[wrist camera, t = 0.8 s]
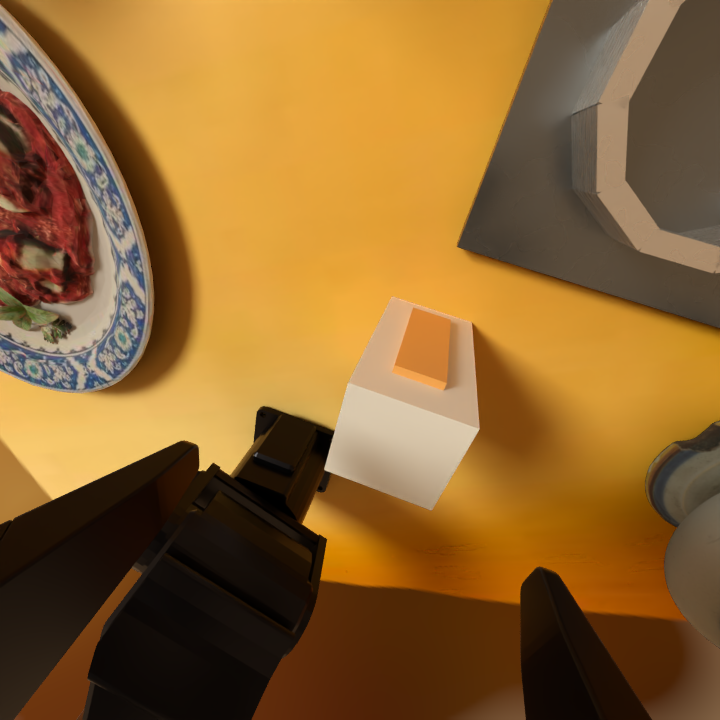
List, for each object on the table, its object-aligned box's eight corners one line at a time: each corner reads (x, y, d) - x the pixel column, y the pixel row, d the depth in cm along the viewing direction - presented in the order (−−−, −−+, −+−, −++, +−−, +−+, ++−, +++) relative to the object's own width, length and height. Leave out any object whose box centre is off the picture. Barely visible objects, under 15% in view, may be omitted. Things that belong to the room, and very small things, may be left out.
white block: (441, 387, 21) (431, 510, 14) (371, 362, 22) (324, 469, 14) (474, 316, 19) (484, 421, 11) (394, 290, 19) (350, 374, 12)
